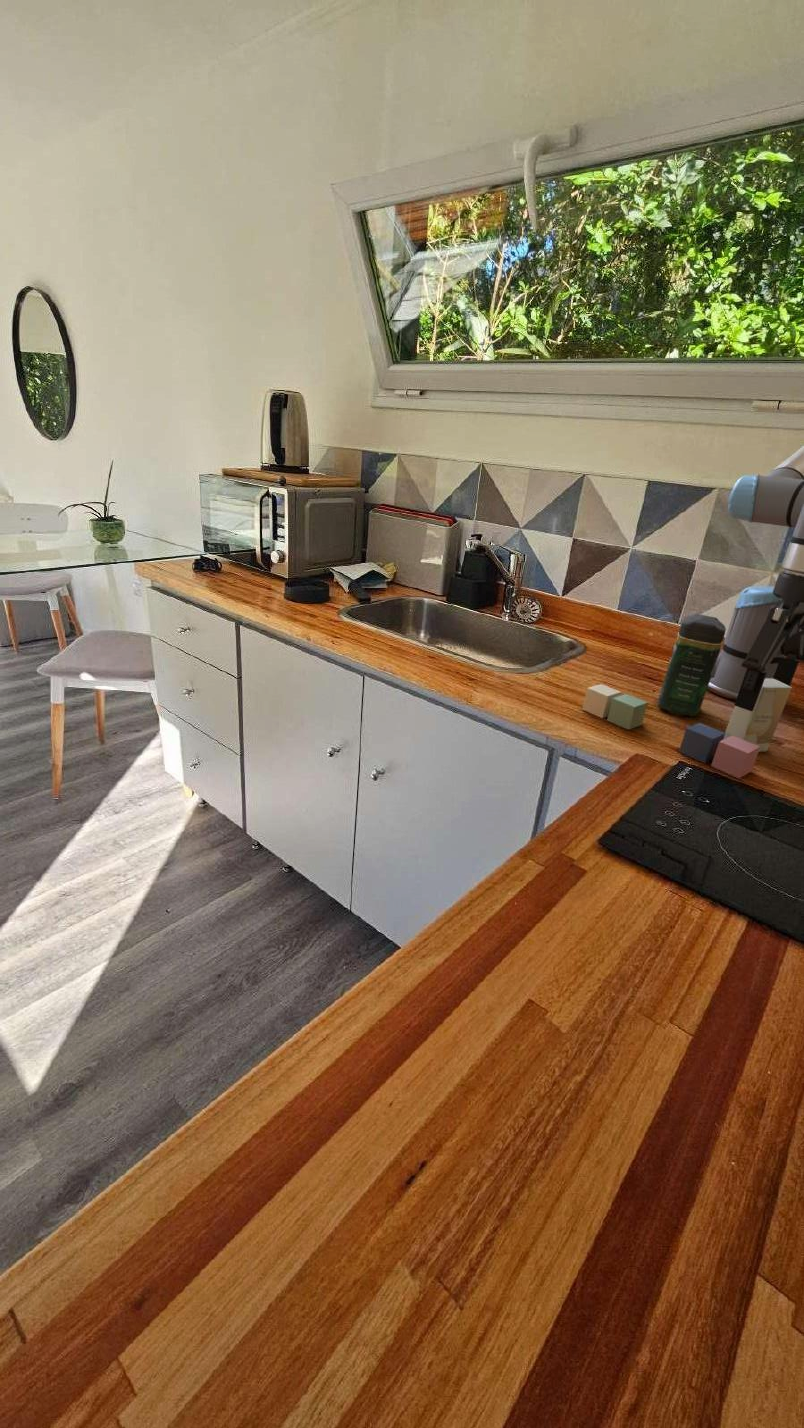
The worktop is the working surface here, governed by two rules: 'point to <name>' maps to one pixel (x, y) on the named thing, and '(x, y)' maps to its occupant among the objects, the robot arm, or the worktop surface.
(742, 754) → the block rose
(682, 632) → the coffee jar
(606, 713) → the block cream
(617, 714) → the block sage
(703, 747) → the block slate
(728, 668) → the robot arm
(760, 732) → the cosmetic box
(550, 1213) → the worktop surface
